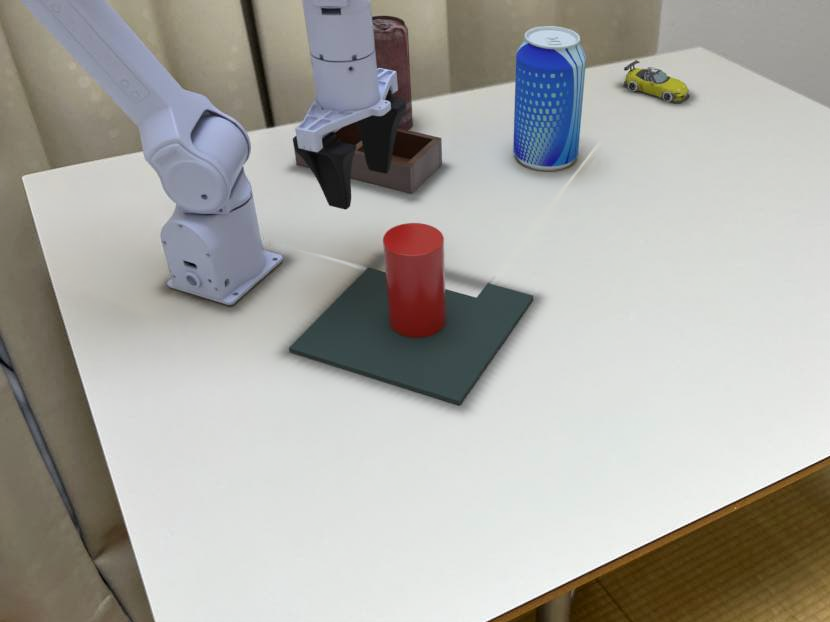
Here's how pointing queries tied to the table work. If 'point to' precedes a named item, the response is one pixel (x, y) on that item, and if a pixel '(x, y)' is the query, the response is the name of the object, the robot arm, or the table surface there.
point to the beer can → (548, 98)
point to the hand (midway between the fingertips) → (359, 187)
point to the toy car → (655, 83)
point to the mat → (407, 356)
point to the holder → (394, 159)
